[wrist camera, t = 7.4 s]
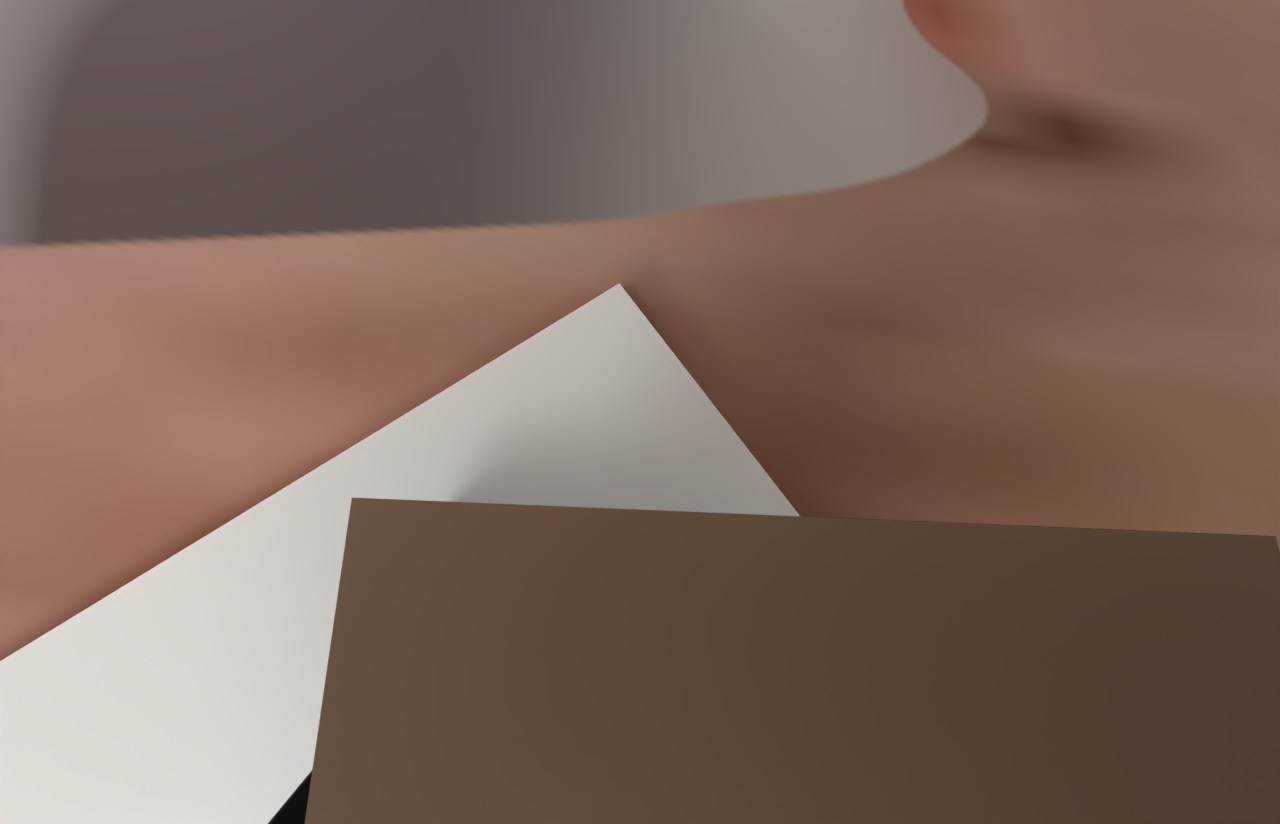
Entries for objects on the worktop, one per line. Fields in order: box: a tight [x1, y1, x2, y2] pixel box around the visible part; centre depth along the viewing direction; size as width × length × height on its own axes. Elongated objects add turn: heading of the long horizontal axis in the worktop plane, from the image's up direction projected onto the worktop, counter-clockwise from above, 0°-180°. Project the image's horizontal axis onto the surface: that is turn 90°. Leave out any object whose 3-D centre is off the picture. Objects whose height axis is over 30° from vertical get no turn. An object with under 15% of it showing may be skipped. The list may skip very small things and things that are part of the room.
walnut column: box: [305, 498, 1280, 824], centre depth 8 cm, size 4×4×11 cm
